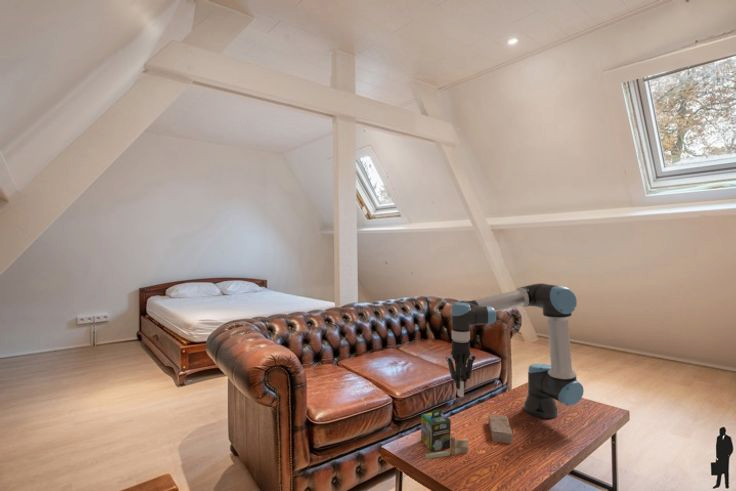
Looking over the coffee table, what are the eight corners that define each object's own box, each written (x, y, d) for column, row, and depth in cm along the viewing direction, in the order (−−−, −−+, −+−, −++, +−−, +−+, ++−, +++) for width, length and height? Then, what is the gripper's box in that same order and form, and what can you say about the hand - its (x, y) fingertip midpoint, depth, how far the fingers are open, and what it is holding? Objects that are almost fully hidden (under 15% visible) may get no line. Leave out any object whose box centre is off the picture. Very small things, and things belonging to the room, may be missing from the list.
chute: (447, 430, 163) (447, 416, 163) (468, 452, 146) (468, 436, 146) (433, 432, 161) (433, 418, 161) (452, 455, 145) (452, 438, 145)
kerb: (448, 453, 146) (448, 450, 146) (449, 455, 145) (449, 452, 145) (425, 457, 143) (425, 454, 143) (426, 458, 142) (426, 455, 142)
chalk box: (438, 436, 158) (439, 402, 158) (451, 448, 150) (451, 411, 150) (420, 440, 155) (420, 405, 155) (431, 452, 146) (432, 415, 146)
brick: (513, 444, 154) (513, 433, 154) (491, 441, 155) (492, 430, 155) (507, 425, 170) (507, 415, 170) (488, 423, 172) (488, 413, 172)
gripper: (469, 336, 160) (469, 390, 160) (442, 338, 157) (442, 394, 157) (479, 341, 153) (479, 397, 153) (450, 343, 149) (450, 401, 150)
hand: (460, 395), depth 155 cm, fingers closed
